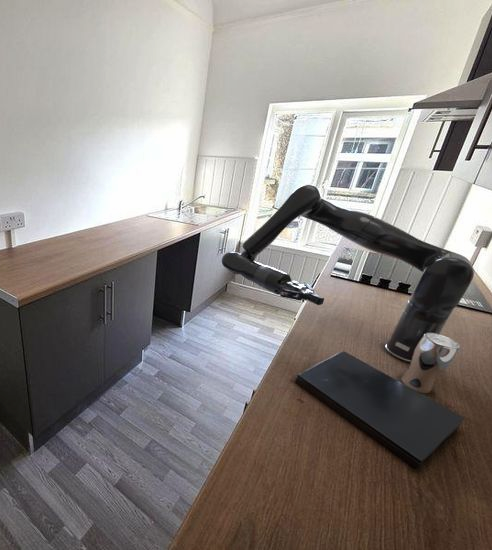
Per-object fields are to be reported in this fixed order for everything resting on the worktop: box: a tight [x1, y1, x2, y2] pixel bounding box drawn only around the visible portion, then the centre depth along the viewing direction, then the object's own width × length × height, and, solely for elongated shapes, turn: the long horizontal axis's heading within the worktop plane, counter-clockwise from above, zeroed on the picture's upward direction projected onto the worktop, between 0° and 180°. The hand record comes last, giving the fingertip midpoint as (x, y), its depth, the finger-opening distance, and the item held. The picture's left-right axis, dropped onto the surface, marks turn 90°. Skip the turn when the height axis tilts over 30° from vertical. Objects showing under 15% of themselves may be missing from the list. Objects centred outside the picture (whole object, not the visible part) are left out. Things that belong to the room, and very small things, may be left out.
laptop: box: [294, 376, 461, 471], centre depth 73 cm, size 21×26×2 cm
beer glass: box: [400, 333, 461, 394], centre depth 78 cm, size 7×7×15 cm
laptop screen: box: [296, 350, 466, 463], centre depth 72 cm, size 21×26×1 cm
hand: (322, 302), depth 86 cm, fingers closed
